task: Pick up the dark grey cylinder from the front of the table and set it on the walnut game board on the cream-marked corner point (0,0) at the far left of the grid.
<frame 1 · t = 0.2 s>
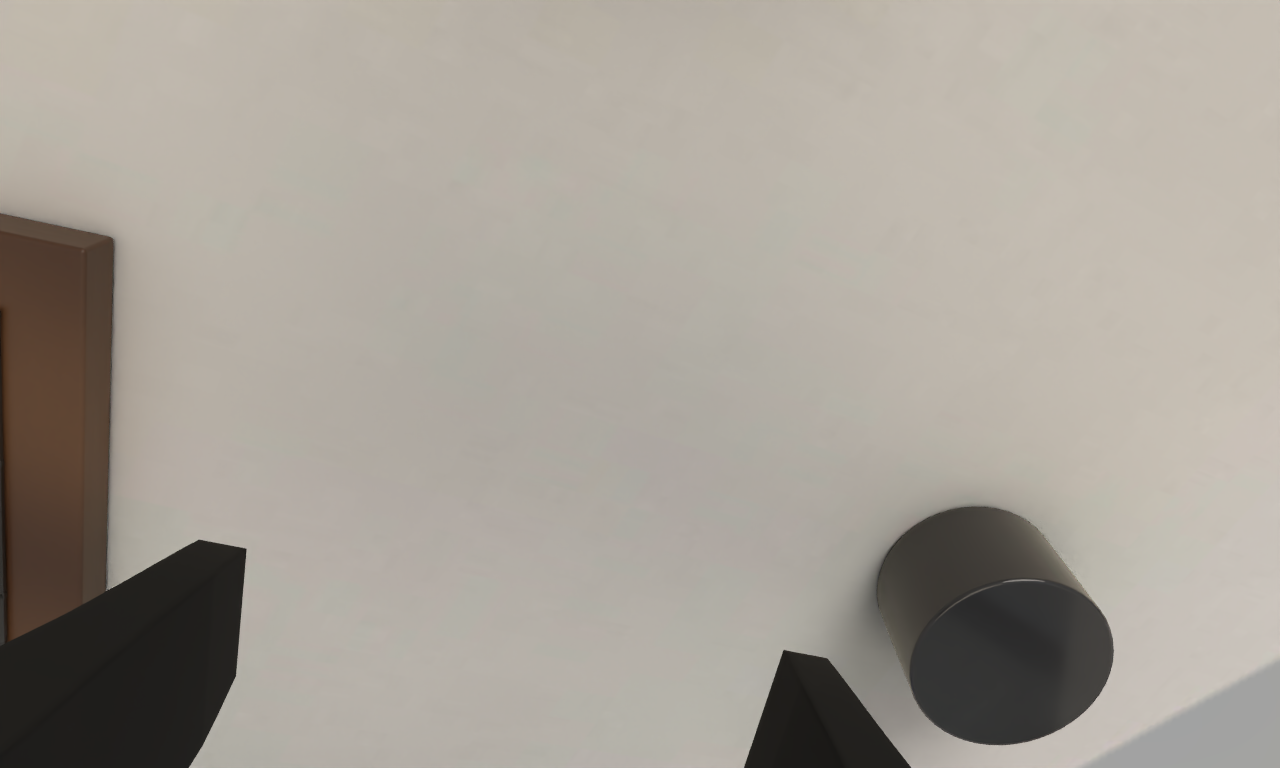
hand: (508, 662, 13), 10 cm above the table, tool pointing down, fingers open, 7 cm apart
dark grey cylinder: (965, 583, 24), on the table
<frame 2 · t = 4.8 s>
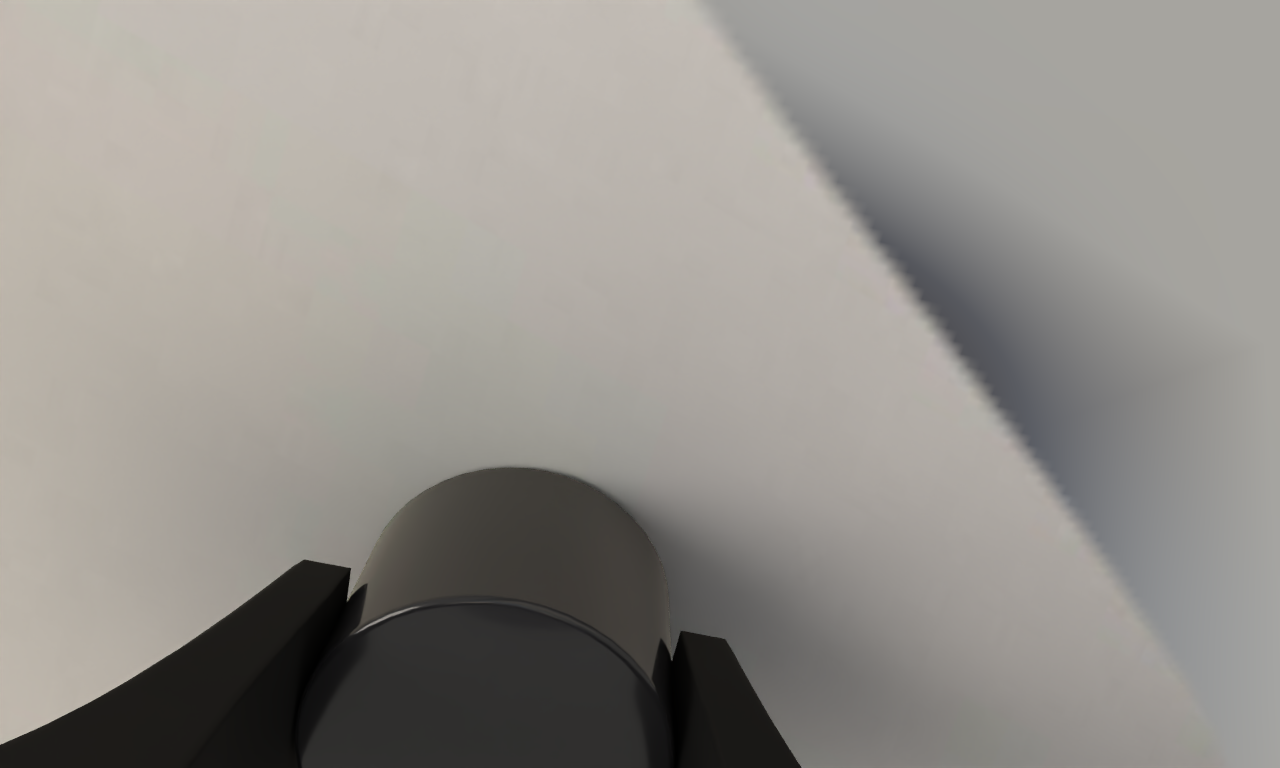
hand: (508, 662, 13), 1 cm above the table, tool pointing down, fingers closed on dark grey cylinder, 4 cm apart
dark grey cylinder: (518, 600, 14), on the table, touching gripper
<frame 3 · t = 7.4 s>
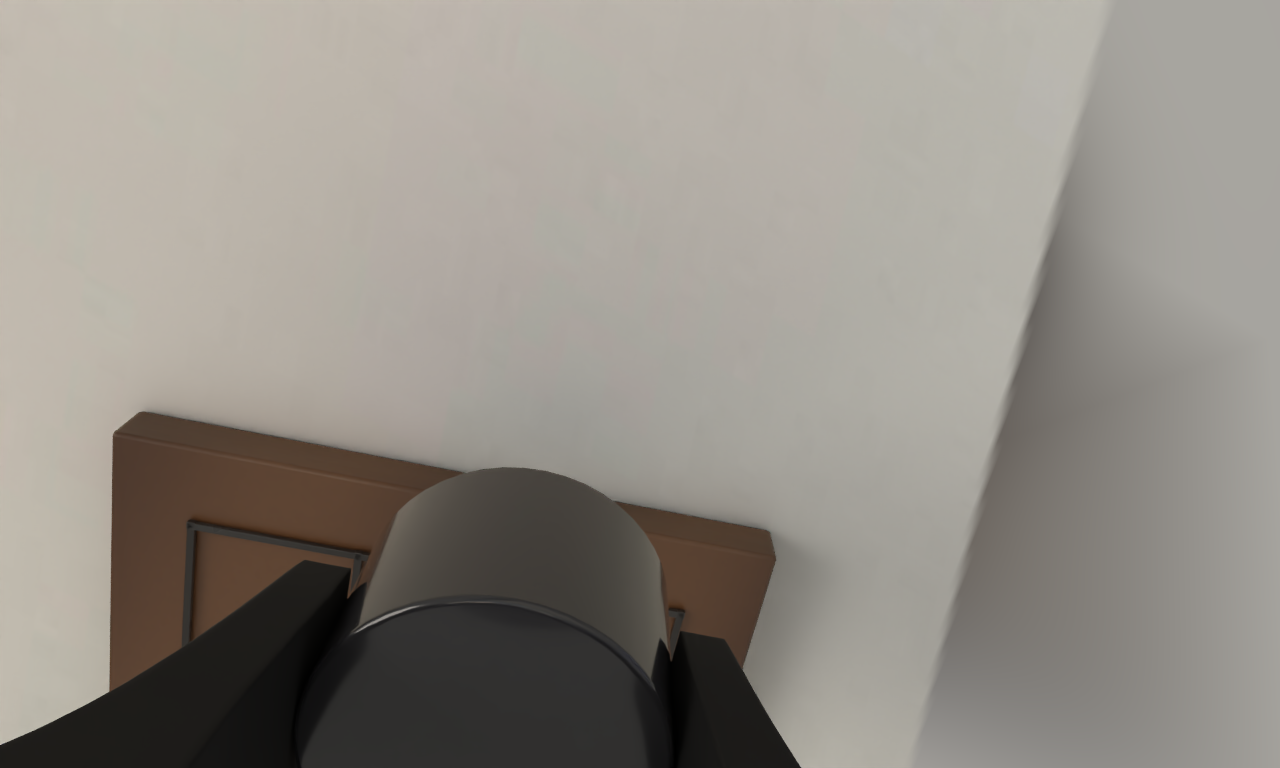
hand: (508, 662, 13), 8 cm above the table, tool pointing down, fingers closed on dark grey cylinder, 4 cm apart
board: (422, 720, 23), on the table
dark grey cylinder: (517, 600, 14), point 7 cm above the table, touching gripper
when the fingers open (3 cm above the table, at t = 10.4 s): dark grey cylinder stays where it is, resting on board.
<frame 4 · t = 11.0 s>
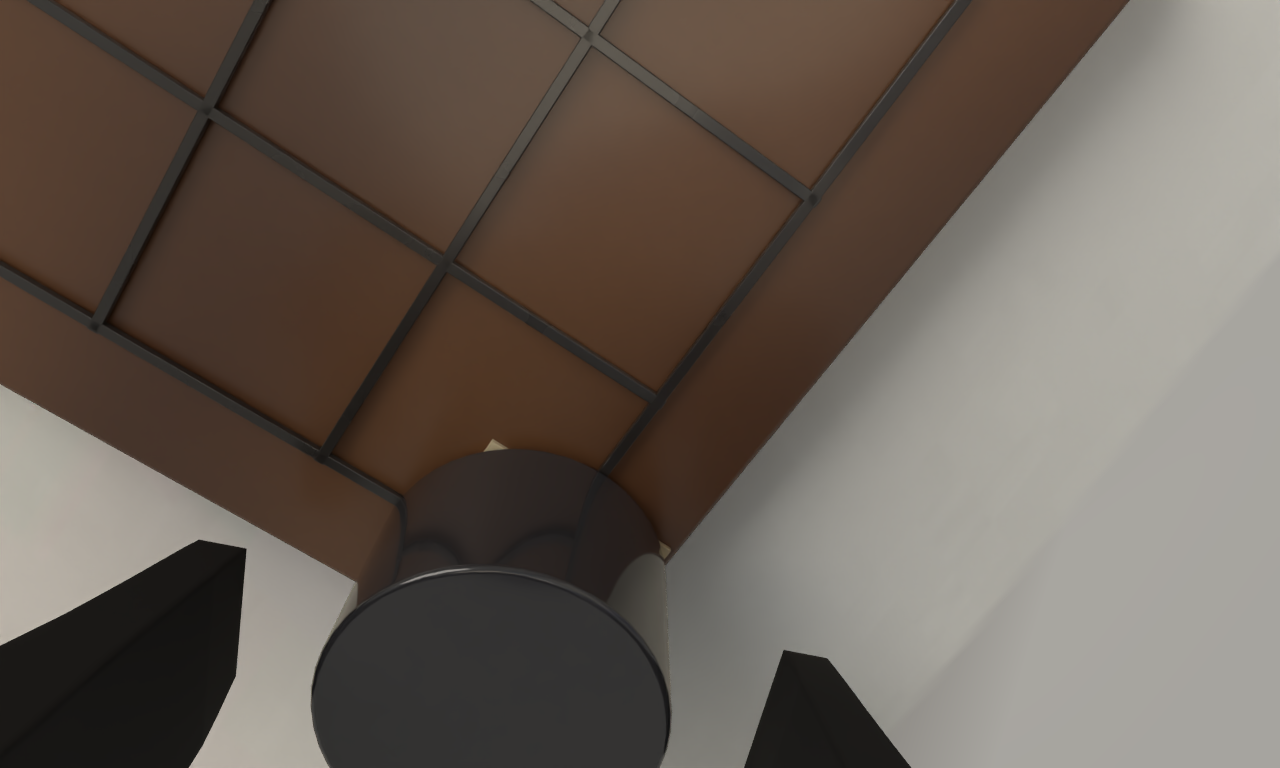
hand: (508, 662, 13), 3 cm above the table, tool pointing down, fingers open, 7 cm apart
board: (419, 67, 13), on the table
dark grey cylinder: (521, 576, 15), point 1 cm above the table, touching board
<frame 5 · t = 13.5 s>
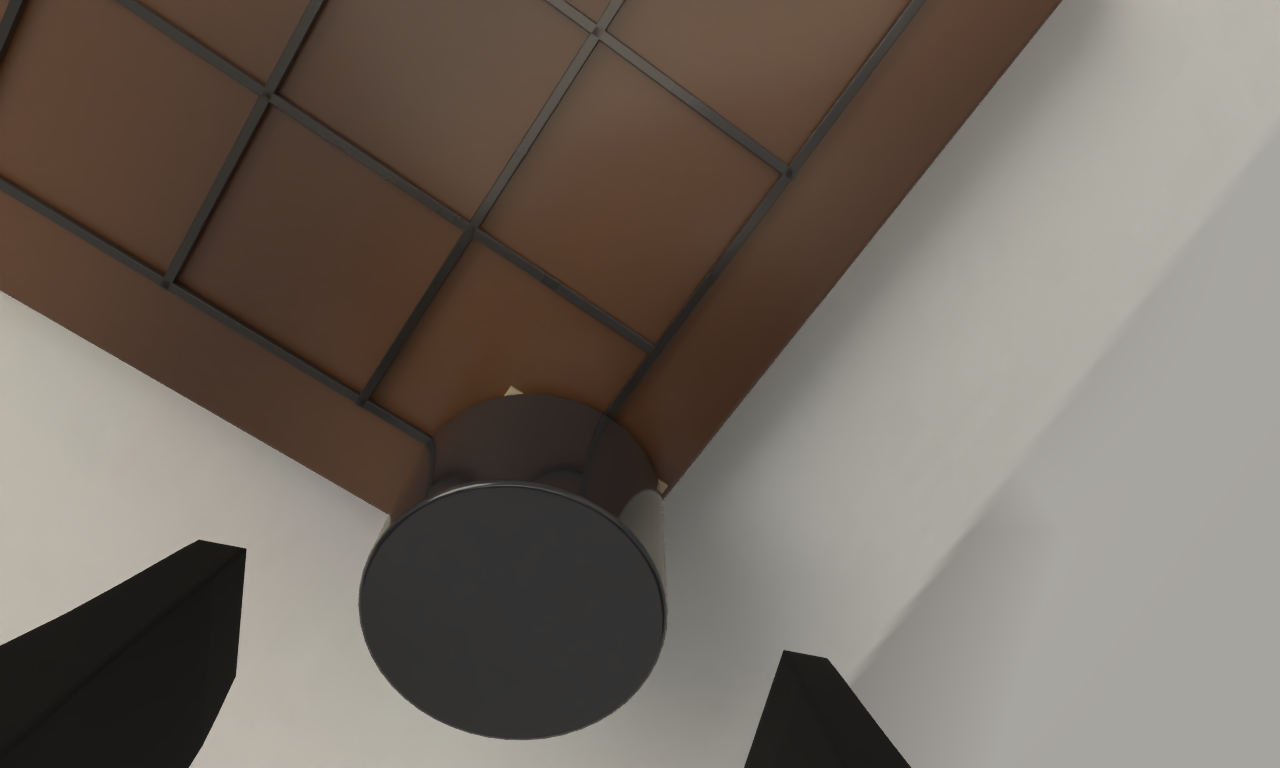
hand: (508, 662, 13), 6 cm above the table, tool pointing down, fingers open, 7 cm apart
board: (448, 59, 15), on the table
dark grey cylinder: (535, 509, 16), point 1 cm above the table, touching board
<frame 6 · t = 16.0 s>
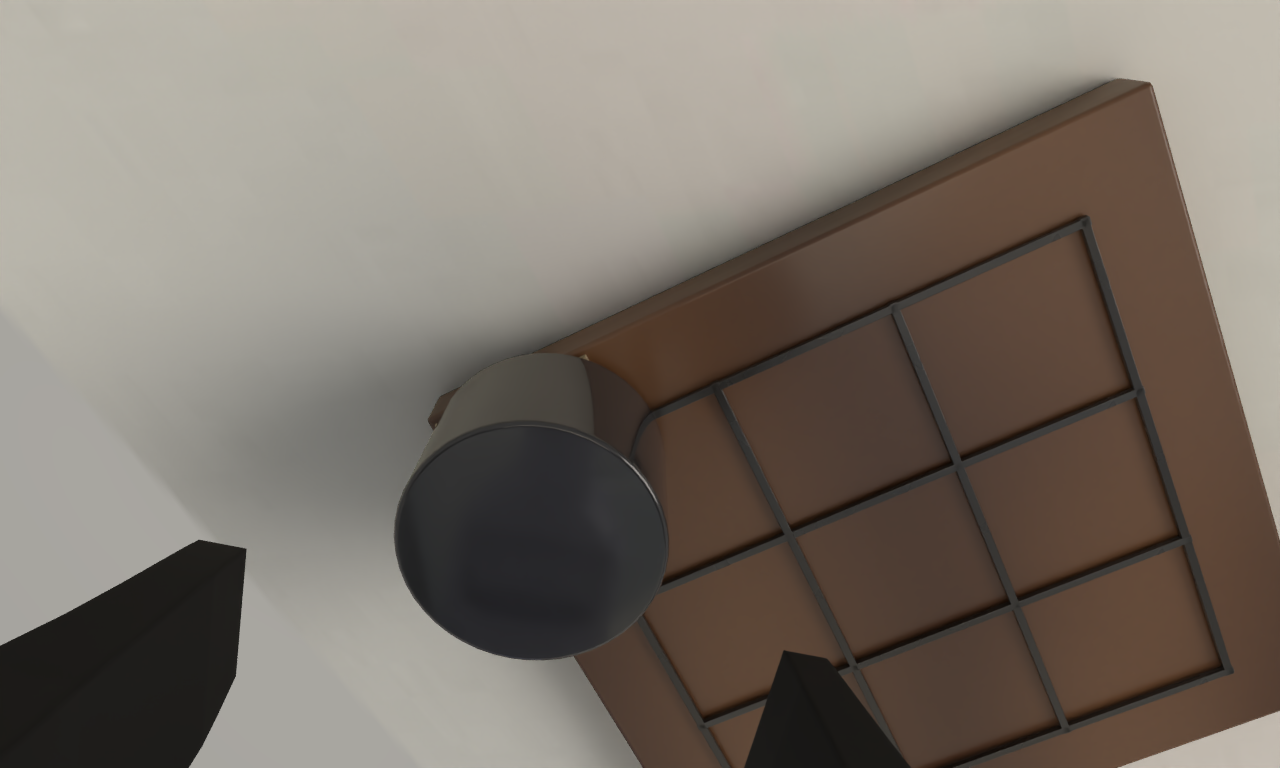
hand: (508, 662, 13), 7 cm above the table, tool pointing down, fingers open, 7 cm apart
board: (888, 536, 20), on the table
dark grey cylinder: (549, 460, 18), point 1 cm above the table, touching board
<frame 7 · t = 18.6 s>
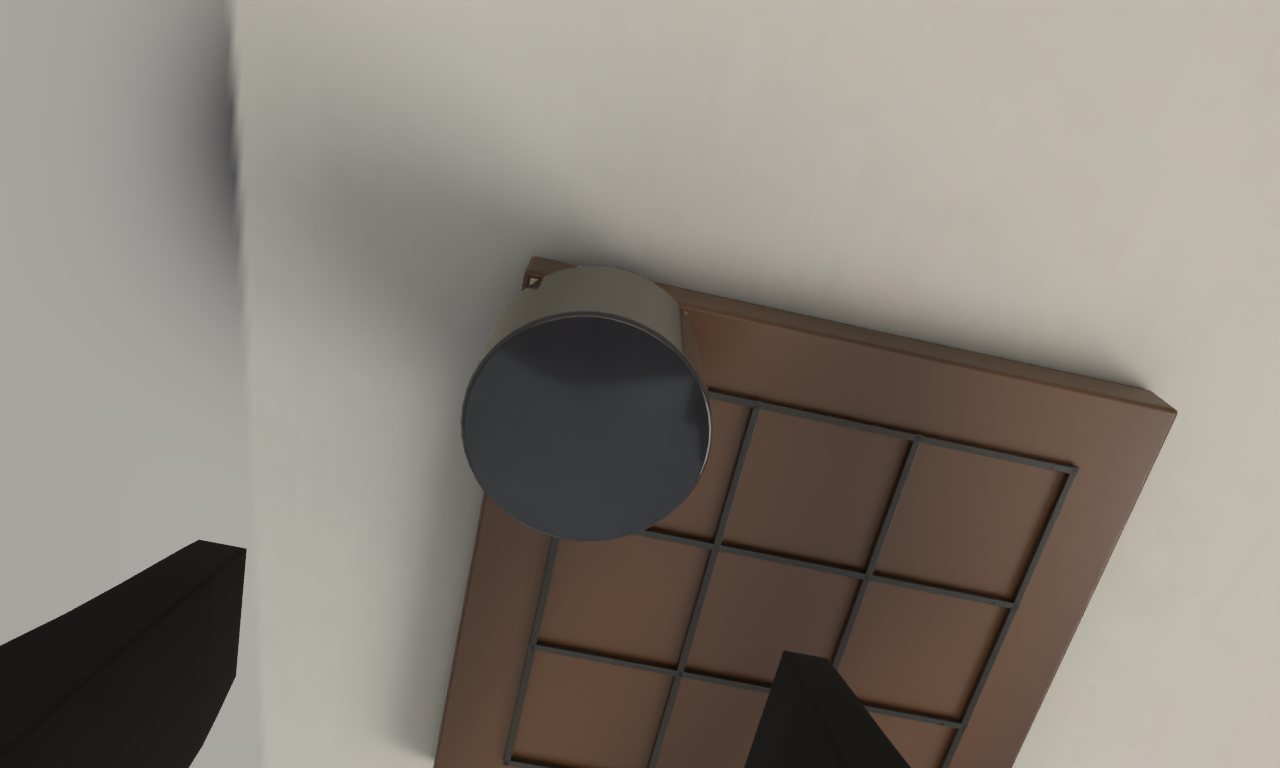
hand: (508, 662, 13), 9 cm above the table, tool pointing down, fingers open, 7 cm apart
board: (764, 592, 23), on the table
dark grey cylinder: (595, 369, 20), point 1 cm above the table, touching board
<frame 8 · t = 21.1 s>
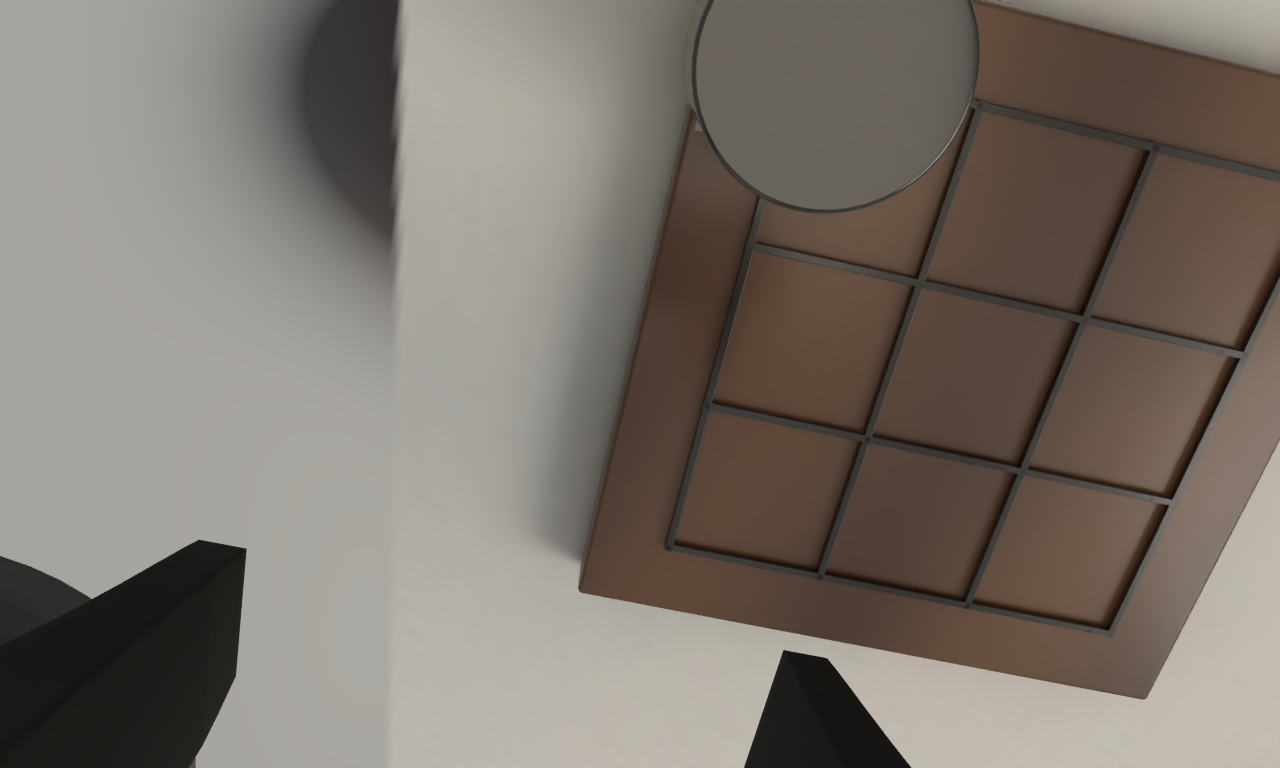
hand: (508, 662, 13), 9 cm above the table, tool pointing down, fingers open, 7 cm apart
board: (953, 358, 21), on the table
dark grey cylinder: (802, 61, 17), point 1 cm above the table, touching board
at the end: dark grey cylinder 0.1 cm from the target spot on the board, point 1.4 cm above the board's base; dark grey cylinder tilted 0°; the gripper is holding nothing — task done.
